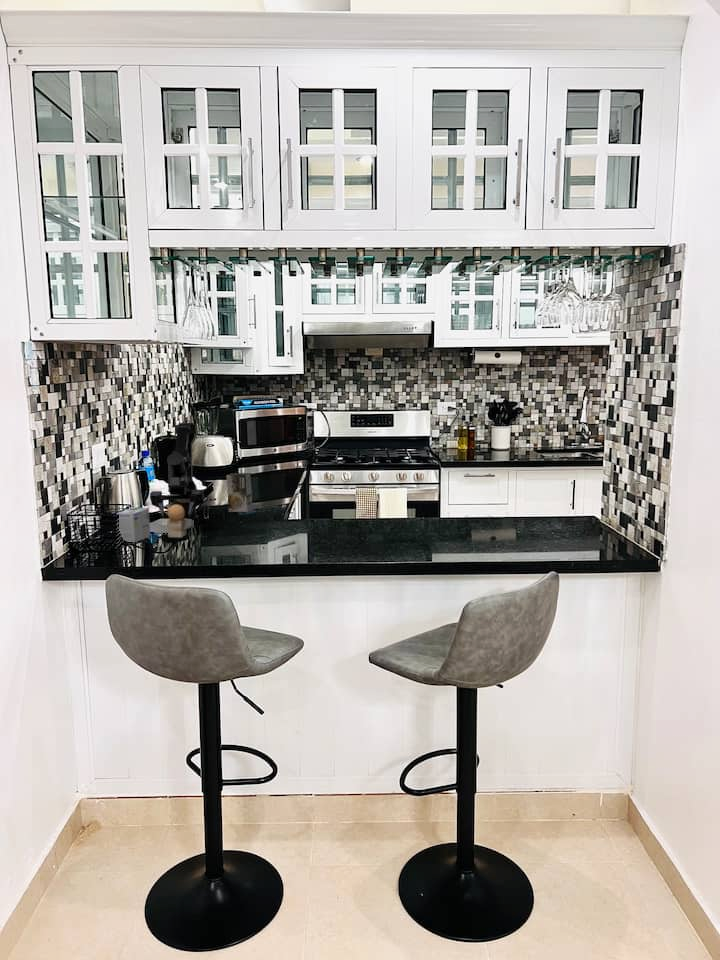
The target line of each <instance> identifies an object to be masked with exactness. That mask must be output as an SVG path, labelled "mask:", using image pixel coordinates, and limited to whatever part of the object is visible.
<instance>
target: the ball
mask: <svg viewBox="0 0 720 960" xmlns="http://www.w3.org/2000/svg"><path fill="white" fill-rule="evenodd" d="M184 515H185V510H184V508H183V507H182V506H181V504H179V505H177V504H172V505H171V506H170V507H169V508H168V510H167V517H168V519H171V520H173V521H179V520H181V519H183V517H184Z"/></svg>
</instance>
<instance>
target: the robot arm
mask: <svg viewBox="0 0 720 960" xmlns="http://www.w3.org/2000/svg"><path fill="white" fill-rule="evenodd" d="M174 434H175V435H176V442H175V443H176V444H175V449H173V451H171V453H170V454H169V455H168V456H167V458H166V462H167V466H168V469H169V473H170V477H168V478H167V487H168V488H167V491H168V493H165V494H163V492H162V490H154V491H153V490H152V491H151V492H150V493H149V500H150V501H151V505H152V506H153V507H155V508H158V509H159V512H160V514H161V519H165V505H164V501H176V505H180V506H182V507H183V508H184V510H185V515H184V517H183V518H186V519H193V520H195V519H198V518H199V517H200V515H197V507H200V506H201V505H204V503H205V496H204V490H202V489H198V488H197V484H196V483H195V482H194V480H193V444H194V443H195V441H196V440H197V434H198V425H197V424H195V422H178V424H176V425H174Z"/></svg>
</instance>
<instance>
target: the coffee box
mask: <svg viewBox="0 0 720 960" xmlns="http://www.w3.org/2000/svg"><path fill="white" fill-rule="evenodd" d="M226 487H227V488H226V490H227V505H228V506H227V509H228V513H233V512H234V513H235V512H236V513H249V512H251V511H253V509H254V507H253V491H252V489H253V487H252V473H251V472H231V473H228V474H226Z"/></svg>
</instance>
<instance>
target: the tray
mask: <svg viewBox="0 0 720 960" xmlns="http://www.w3.org/2000/svg"><path fill="white" fill-rule="evenodd" d="M168 520H170V518H160V519H157V520H155V521H152V522H151V523H150V532H154V533H168V525H167V521H168ZM192 521H193V520H192V519H186V529H187V530H189V529H190V528H192V527H193V526H192V524H193V522H192ZM162 524H164V525H162ZM191 526H192V527H191Z"/></svg>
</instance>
